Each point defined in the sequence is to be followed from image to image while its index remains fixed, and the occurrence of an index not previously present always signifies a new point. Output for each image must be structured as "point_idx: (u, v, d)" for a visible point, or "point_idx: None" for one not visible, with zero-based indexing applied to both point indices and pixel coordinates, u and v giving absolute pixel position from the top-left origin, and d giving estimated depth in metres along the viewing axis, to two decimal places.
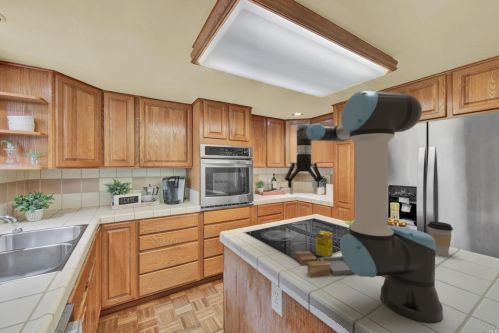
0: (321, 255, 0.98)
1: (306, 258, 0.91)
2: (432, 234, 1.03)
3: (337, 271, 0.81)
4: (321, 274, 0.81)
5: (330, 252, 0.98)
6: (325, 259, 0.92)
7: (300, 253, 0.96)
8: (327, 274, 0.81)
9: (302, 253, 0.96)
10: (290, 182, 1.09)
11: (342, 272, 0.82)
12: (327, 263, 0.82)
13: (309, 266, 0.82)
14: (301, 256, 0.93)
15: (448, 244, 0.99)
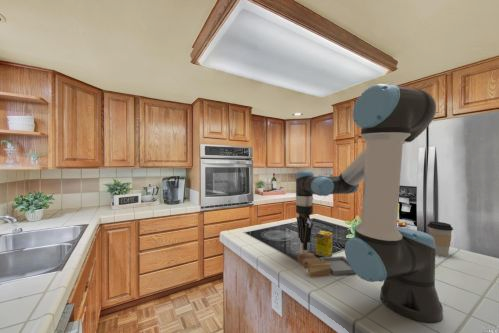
0: (321, 255, 0.98)
1: (309, 260, 0.88)
2: (432, 234, 1.03)
3: (337, 271, 0.81)
4: (321, 274, 0.81)
5: (330, 252, 0.98)
6: (325, 259, 0.92)
7: (302, 255, 0.94)
8: (327, 274, 0.81)
9: (305, 255, 0.94)
10: None
11: (342, 272, 0.82)
12: (327, 263, 0.82)
13: (309, 266, 0.82)
14: (303, 258, 0.91)
15: (448, 244, 0.99)
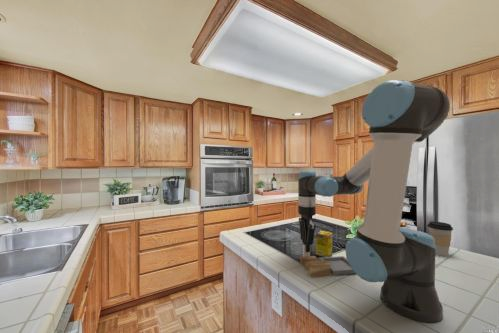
0: (321, 255, 0.98)
1: None
2: (432, 234, 1.03)
3: (337, 271, 0.81)
4: (321, 274, 0.81)
5: (330, 252, 0.98)
6: (325, 259, 0.92)
7: (305, 258, 0.91)
8: (327, 274, 0.81)
9: (307, 258, 0.91)
10: None
11: (342, 272, 0.82)
12: (327, 263, 0.82)
13: (309, 266, 0.82)
14: (306, 261, 0.88)
15: (448, 244, 0.99)
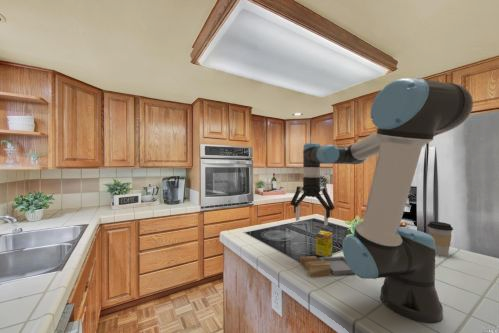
0: (321, 255, 0.98)
1: None
2: (432, 234, 1.03)
3: (337, 271, 0.81)
4: (321, 274, 0.81)
5: (330, 252, 0.98)
6: (325, 259, 0.92)
7: (306, 258, 0.91)
8: (327, 274, 0.81)
9: (308, 258, 0.91)
10: (295, 207, 1.01)
11: (342, 272, 0.82)
12: (327, 263, 0.82)
13: (309, 266, 0.82)
14: (306, 261, 0.88)
15: (448, 244, 0.99)
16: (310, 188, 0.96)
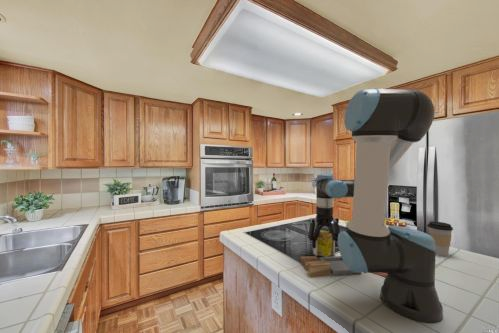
0: (321, 255, 0.98)
1: None
2: (432, 234, 1.03)
3: (337, 271, 0.81)
4: (321, 274, 0.81)
5: (330, 252, 0.98)
6: (325, 259, 0.92)
7: (306, 258, 0.91)
8: (327, 274, 0.81)
9: (308, 258, 0.91)
10: (314, 242, 0.98)
11: (342, 272, 0.82)
12: (327, 263, 0.82)
13: (309, 266, 0.82)
14: (306, 261, 0.88)
15: (448, 244, 0.99)
16: (325, 218, 0.99)
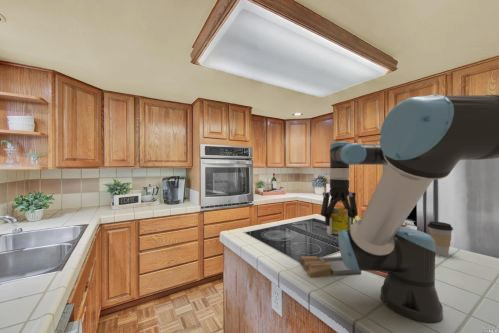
0: (336, 233, 0.86)
1: None
2: (432, 234, 1.03)
3: (337, 271, 0.81)
4: (321, 274, 0.81)
5: None
6: (325, 259, 0.92)
7: (306, 258, 0.91)
8: (327, 274, 0.81)
9: (308, 258, 0.91)
10: (328, 219, 0.86)
11: (342, 272, 0.82)
12: (327, 263, 0.82)
13: (309, 266, 0.82)
14: (306, 261, 0.88)
15: (448, 244, 0.99)
16: (340, 191, 0.87)
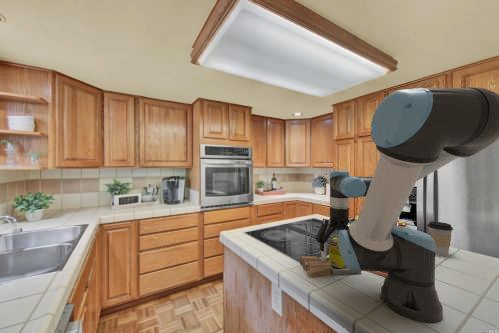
0: (335, 266, 0.86)
1: None
2: (432, 234, 1.03)
3: (337, 271, 0.81)
4: (321, 274, 0.81)
5: None
6: None
7: (306, 258, 0.91)
8: (327, 274, 0.81)
9: (308, 258, 0.91)
10: (323, 244, 0.86)
11: (342, 272, 0.82)
12: (327, 263, 0.82)
13: (309, 266, 0.82)
14: (306, 261, 0.88)
15: (448, 244, 0.99)
16: (340, 220, 0.87)
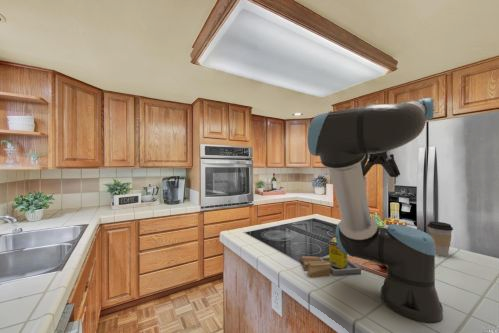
0: (335, 266, 0.86)
1: None
2: (432, 234, 1.03)
3: (337, 271, 0.81)
4: (321, 274, 0.81)
5: (345, 263, 0.86)
6: (325, 259, 0.92)
7: (306, 258, 0.91)
8: (327, 274, 0.81)
9: (308, 258, 0.91)
10: (363, 177, 0.89)
11: (342, 272, 0.82)
12: (327, 263, 0.82)
13: (309, 266, 0.82)
14: (305, 260, 0.88)
15: (448, 244, 0.99)
16: (379, 155, 0.90)
